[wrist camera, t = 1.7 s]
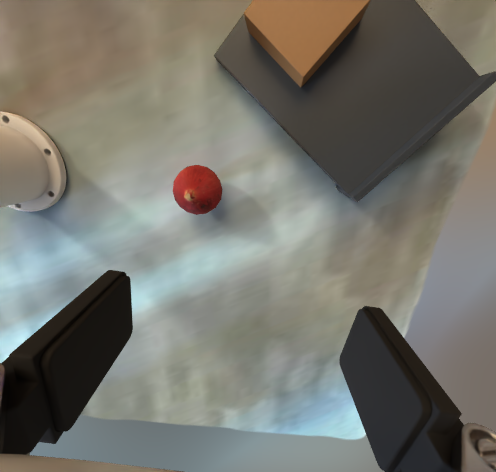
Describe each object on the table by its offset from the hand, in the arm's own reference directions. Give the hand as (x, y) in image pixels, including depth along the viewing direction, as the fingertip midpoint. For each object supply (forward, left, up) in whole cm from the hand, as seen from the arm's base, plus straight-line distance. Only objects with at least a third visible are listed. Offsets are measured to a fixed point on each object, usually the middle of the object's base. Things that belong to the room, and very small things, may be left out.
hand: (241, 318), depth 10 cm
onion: (-6, -3, -24) cm, 25 cm away
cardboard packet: (-9, +17, -22) cm, 29 cm away
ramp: (-3, +17, -24) cm, 30 cm away
